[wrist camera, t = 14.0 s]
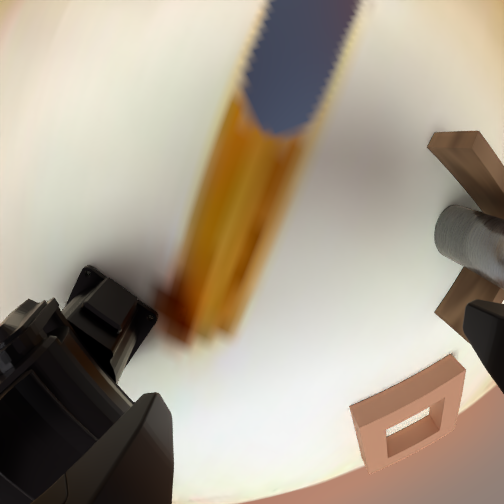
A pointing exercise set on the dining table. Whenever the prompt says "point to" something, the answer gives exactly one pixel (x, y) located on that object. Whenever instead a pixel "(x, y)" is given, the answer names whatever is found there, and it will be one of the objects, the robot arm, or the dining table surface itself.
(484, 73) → the dining table surface
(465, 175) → the v block
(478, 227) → the steel axle
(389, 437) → the sleeve block
